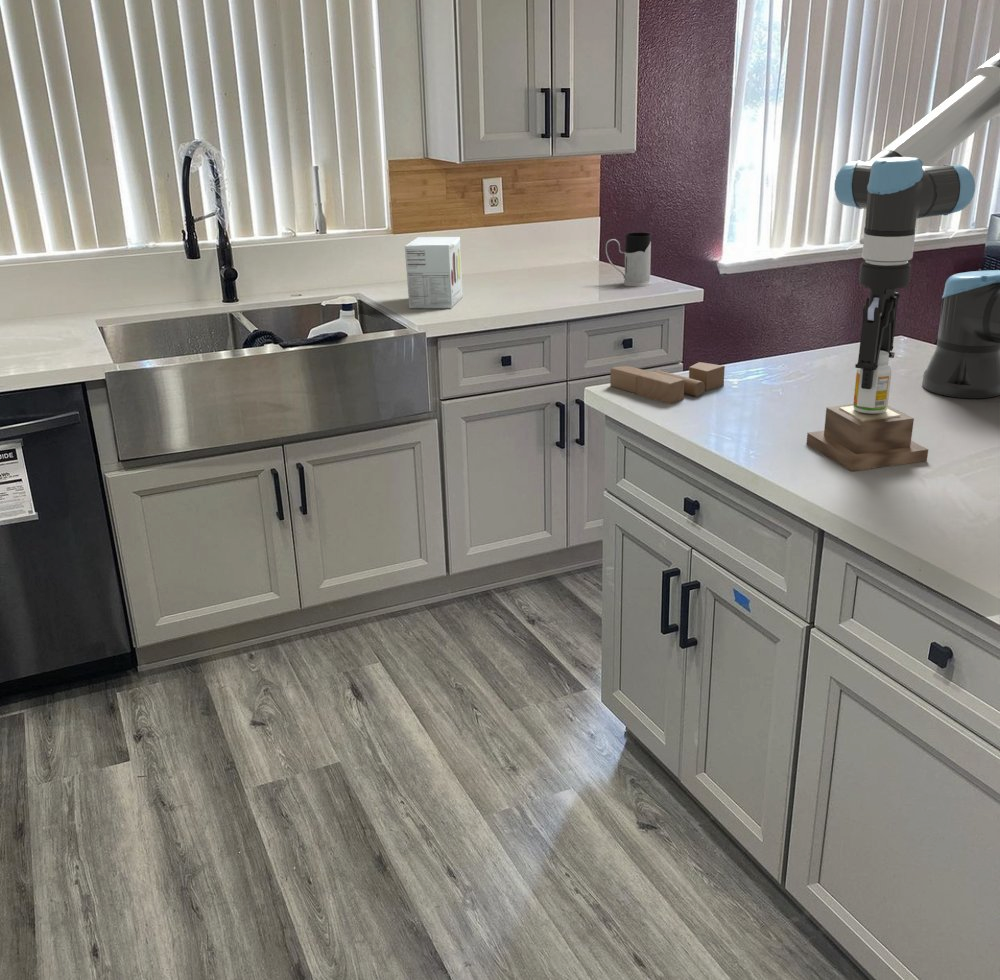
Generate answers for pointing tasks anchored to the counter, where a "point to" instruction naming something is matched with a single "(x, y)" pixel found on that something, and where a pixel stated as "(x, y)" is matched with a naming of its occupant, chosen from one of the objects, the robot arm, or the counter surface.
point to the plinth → (867, 457)
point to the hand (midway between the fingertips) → (870, 400)
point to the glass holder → (636, 259)
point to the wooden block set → (668, 381)
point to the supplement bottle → (882, 387)
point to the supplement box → (434, 272)
